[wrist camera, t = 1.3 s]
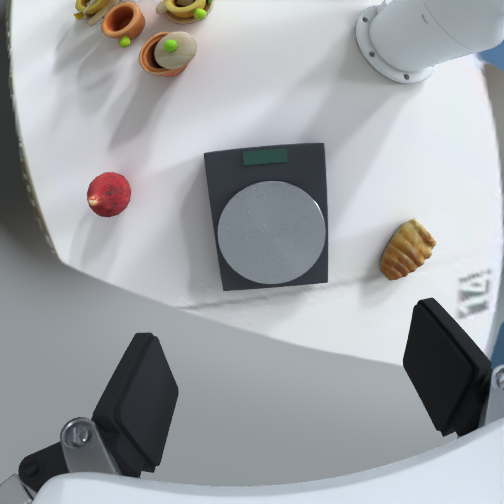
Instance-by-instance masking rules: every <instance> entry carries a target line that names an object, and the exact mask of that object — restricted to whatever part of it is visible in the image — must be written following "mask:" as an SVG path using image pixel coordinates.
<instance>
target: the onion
mask: <svg viewBox="0 0 504 504" xmlns="http://www.w3.org/2000/svg"><path fill="white" fill-rule="evenodd" d="M130 196H131V189H130V186H129V183H128V181H127V180H126V179H125V178H124V176H122V175H120V174H117V173H114V172H106V173H103V174H101V175H99V176H97V177H96V178H95V179H94V180H93V181H92V182H91V183H90V185H89V188H88V192H87V200H88V203H89V206H90V208H91V209H92V210H93V211H94V212H95V213H96V214H98V215H99V216H102V217H112V216H115V215H118V214H120V213H121V212H122V211H123V210H124V209H125V208H126V207H127V205H128V203H129V201H130Z"/></svg>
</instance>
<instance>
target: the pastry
mask: <svg viewBox="0 0 504 504" xmlns="http://www.w3.org/2000/svg"><path fill="white" fill-rule="evenodd" d="M435 245H436V241H435V240H434V238H433V237H432V235H431V234H430V233H429V232H428V231H427V230H426V229H425V228H424V227H423V226H422V225H421V224H420V222H419V221H418V220H417V219H412V220H409V221H408V222H406V223H404V224H402V225H401V226H400V227H399V229H398V230H396V232H395V234H394V235H393V236H392V239H391V240H390V242H389V244H388V246H387V247H386V249H385V251H384V253H383V255H382V258H381V262H380V270H381V272H382V273H383V274H384V275H385V276H386V277H387V278H388V279H389V280H397V279H399V278H401V277H406V276H407V275H408V274H409V273H410V272H414V271H415V270H416V268H417V267H420V266H421V265H423V264H424V260H425V259H428V258H430V256H431V255H432V249H433V248H434V246H435Z"/></svg>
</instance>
